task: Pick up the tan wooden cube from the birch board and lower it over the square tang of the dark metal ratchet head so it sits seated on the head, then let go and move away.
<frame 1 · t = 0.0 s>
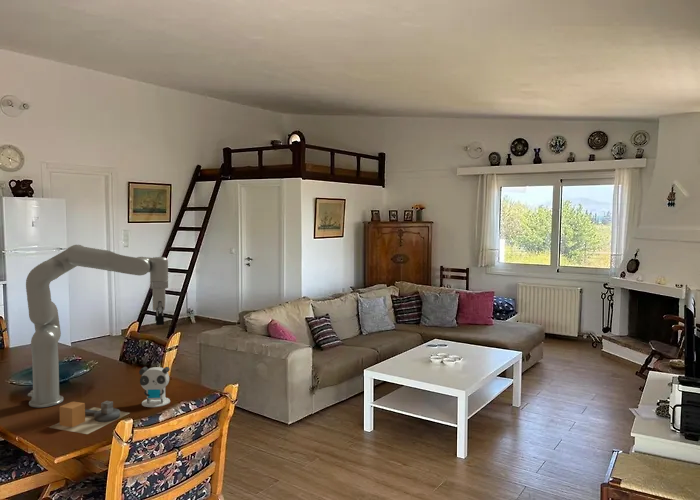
hand: (159, 322, 238), 31 cm above the table, fingers open, 9 cm apart
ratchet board: (91, 423, 203), on the table
panda figurine: (155, 402, 225), on the table
tan wooden cube: (72, 423, 200), point 1 cm above the table
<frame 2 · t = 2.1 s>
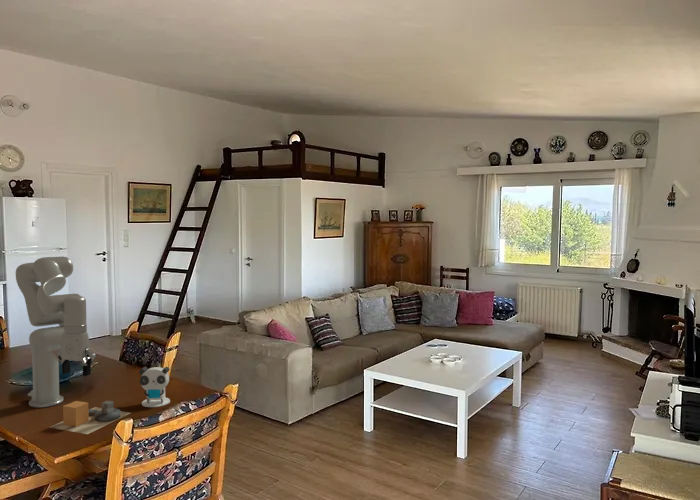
hand: (76, 374, 200), 19 cm above the table, fingers open, 9 cm apart
tan wooden cube: (76, 422, 200), point 1 cm above the table
everything else where it was.
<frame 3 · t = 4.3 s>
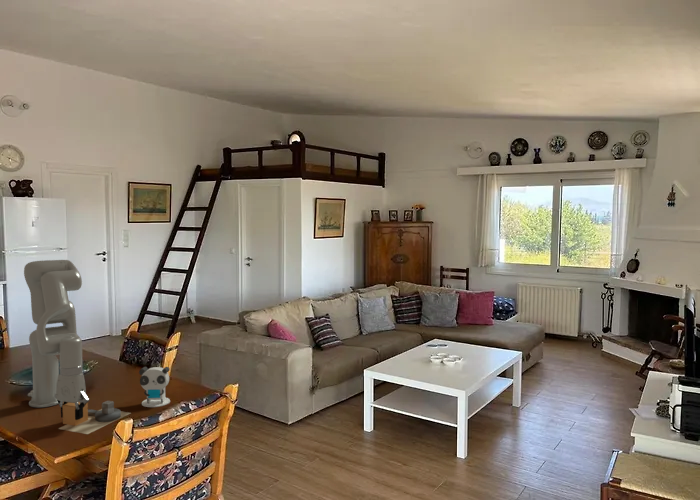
hand: (72, 417, 199), 3 cm above the table, fingers closed on tan wooden cube, 6 cm apart
tan wooden cube: (75, 421, 201), point 1 cm above the table, touching gripper
everything else where it was.
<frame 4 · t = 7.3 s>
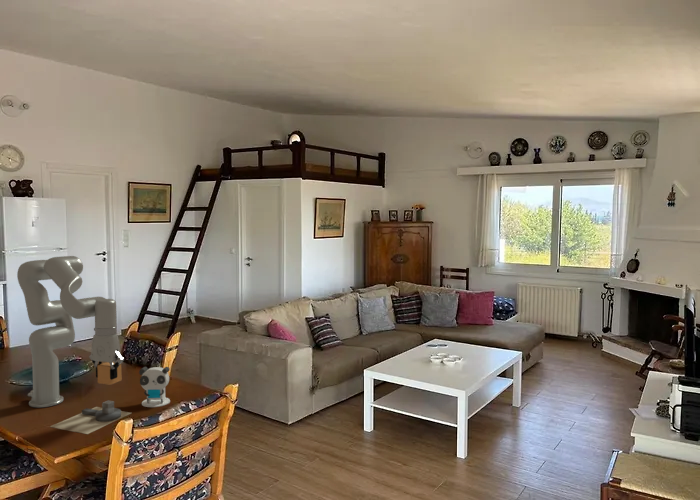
hand: (106, 377, 205), 17 cm above the table, fingers closed on tan wooden cube, 6 cm apart
tan wooden cube: (109, 381, 206), point 14 cm above the table, touching gripper
everything else where it was.
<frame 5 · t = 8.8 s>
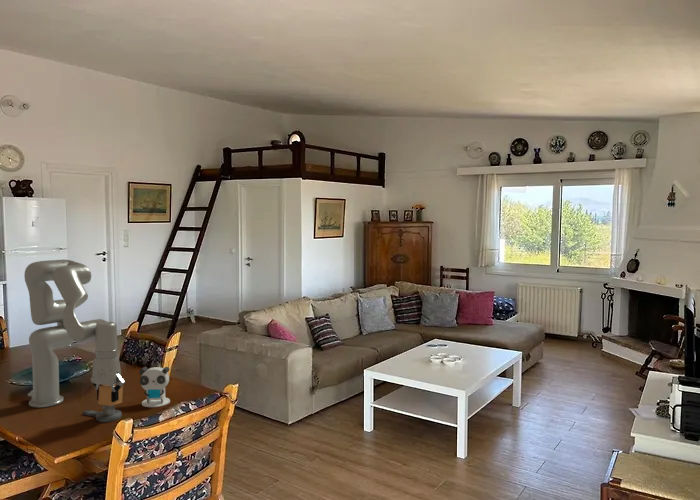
hand: (107, 399, 205), 8 cm above the table, fingers closed on tan wooden cube, 6 cm apart
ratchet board: (92, 424, 203), on the table, touching tan wooden cube
tan wooden cube: (110, 403, 206), point 6 cm above the table, tilted 6°, touching gripper, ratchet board
everything else where it was.
when the fingers open (7 cm above the table, at t = 10.2 s): tan wooden cube drops 2 cm, resting on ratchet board.
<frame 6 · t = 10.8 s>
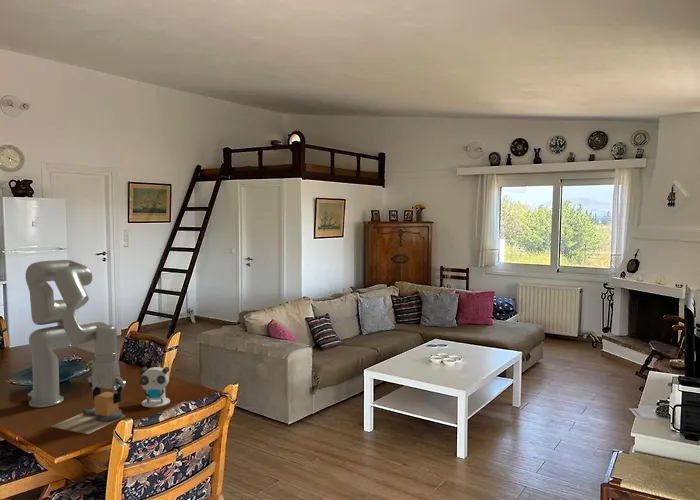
hand: (106, 400, 205), 7 cm above the table, fingers open, 9 cm apart
tan wooden cube: (106, 412, 205), point 3 cm above the table, touching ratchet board
everything else where it was.
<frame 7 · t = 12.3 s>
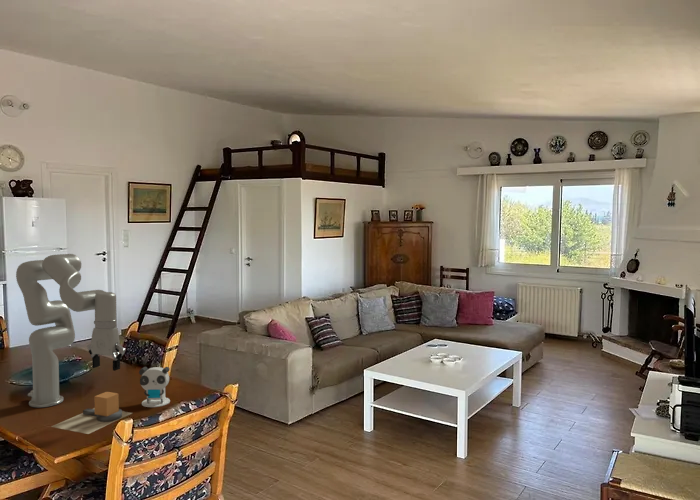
hand: (106, 368, 205), 20 cm above the table, fingers open, 9 cm apart
nothing on the table moved.
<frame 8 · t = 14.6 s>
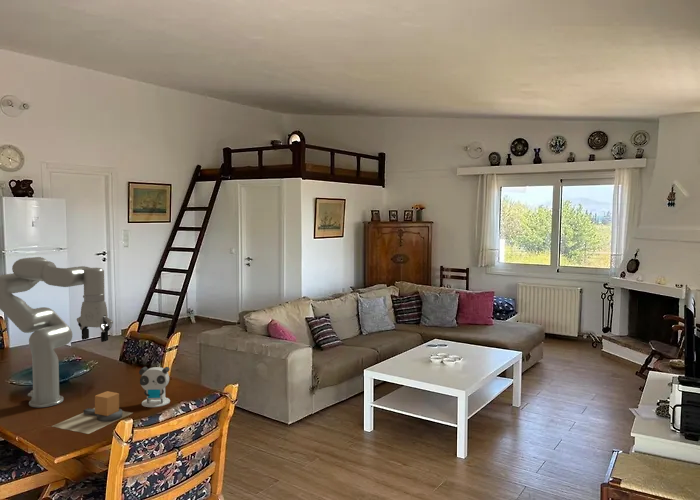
hand: (94, 340, 216), 28 cm above the table, fingers open, 9 cm apart
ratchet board: (93, 423, 204), on the table
tan wooden cube: (107, 412, 205), point 3 cm above the table
everything else where it was.
at the end: tan wooden cube 1.0 cm from the target spot on the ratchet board, point 3.6 cm above the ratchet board's base; tan wooden cube tilted 1°; the gripper is holding nothing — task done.
